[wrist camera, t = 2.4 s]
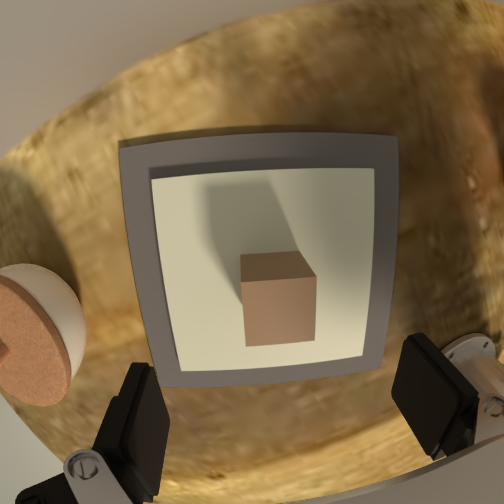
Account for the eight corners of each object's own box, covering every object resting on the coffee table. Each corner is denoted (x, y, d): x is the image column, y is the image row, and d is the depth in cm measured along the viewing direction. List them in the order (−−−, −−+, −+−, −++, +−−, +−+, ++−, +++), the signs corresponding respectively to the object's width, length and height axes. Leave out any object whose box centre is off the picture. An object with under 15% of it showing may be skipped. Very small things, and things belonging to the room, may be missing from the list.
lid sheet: (369, 168, 20) (410, 171, 15) (359, 350, 24) (384, 392, 19) (154, 179, 20) (124, 185, 14) (182, 365, 24) (171, 413, 18)
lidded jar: (-1, 258, 21) (-67, 295, 12) (81, 235, 21) (8, 276, 12) (38, 356, 24) (-8, 412, 15) (122, 352, 24) (83, 427, 15)
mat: (394, 136, 20) (397, 136, 20) (378, 364, 26) (380, 367, 25) (121, 148, 20) (118, 148, 19) (161, 382, 25) (160, 386, 25)
